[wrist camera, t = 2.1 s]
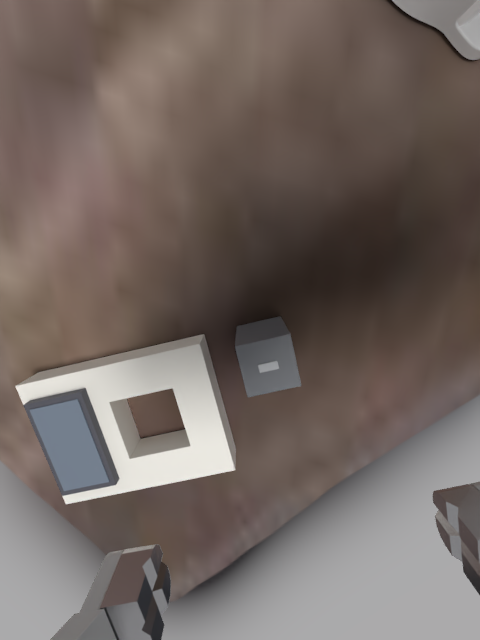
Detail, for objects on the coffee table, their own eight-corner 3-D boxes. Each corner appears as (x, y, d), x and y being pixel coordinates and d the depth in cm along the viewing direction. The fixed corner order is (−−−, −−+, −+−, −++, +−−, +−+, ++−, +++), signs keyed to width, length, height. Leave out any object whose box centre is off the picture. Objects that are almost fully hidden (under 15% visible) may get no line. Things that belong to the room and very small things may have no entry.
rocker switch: (280, 316, 28) (290, 334, 22) (289, 357, 28) (301, 386, 23) (236, 326, 28) (234, 347, 22) (247, 367, 29) (247, 398, 23)
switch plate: (204, 333, 28) (197, 347, 24) (236, 448, 31) (234, 477, 27) (38, 372, 29) (7, 390, 25) (82, 480, 32) (60, 512, 28)
